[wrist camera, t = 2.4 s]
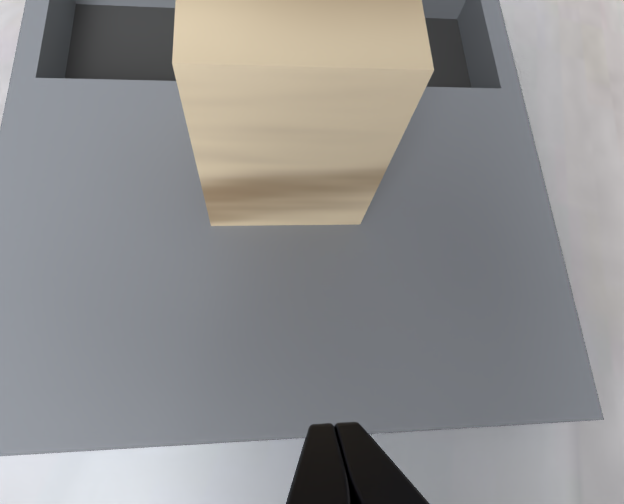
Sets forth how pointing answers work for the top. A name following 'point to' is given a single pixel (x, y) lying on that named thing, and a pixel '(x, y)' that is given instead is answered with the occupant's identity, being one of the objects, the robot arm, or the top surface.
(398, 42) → the maple block
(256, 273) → the board
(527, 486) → the top surface
